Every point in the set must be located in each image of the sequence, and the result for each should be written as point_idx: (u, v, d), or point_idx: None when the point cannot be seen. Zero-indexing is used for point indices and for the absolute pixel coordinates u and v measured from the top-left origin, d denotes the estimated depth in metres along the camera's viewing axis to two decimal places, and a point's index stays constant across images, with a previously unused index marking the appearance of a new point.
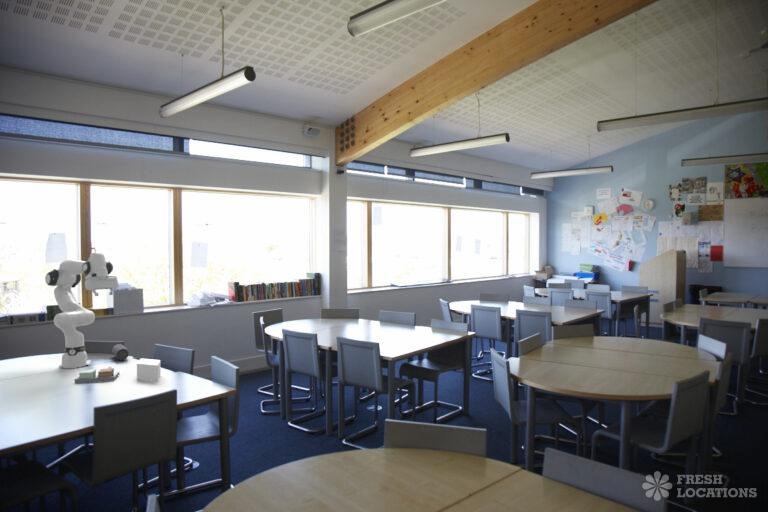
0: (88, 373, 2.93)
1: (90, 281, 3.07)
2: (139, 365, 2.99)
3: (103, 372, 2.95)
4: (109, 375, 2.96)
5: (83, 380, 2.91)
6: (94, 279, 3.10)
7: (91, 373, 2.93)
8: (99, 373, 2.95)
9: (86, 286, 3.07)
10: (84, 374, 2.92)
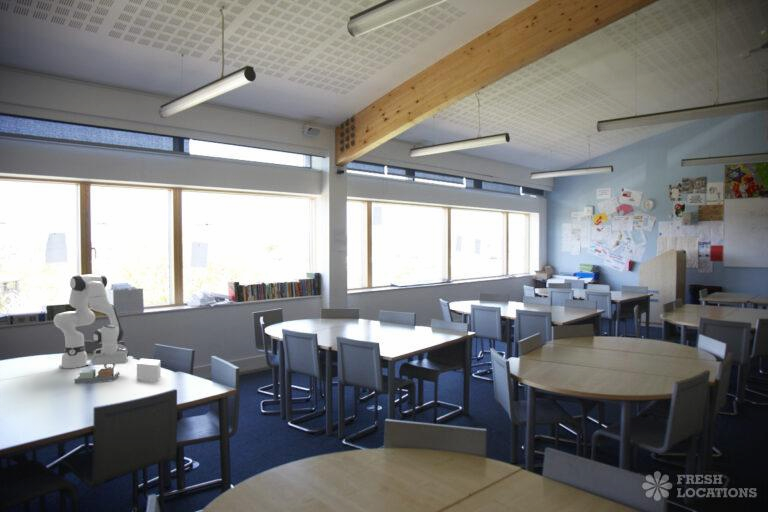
0: (88, 373, 2.93)
1: (94, 357, 3.04)
2: (139, 365, 2.99)
3: (103, 372, 2.95)
4: (109, 375, 2.96)
5: (83, 380, 2.91)
6: (99, 355, 3.05)
7: (91, 373, 2.93)
8: (99, 373, 2.94)
9: None
10: (84, 374, 2.92)
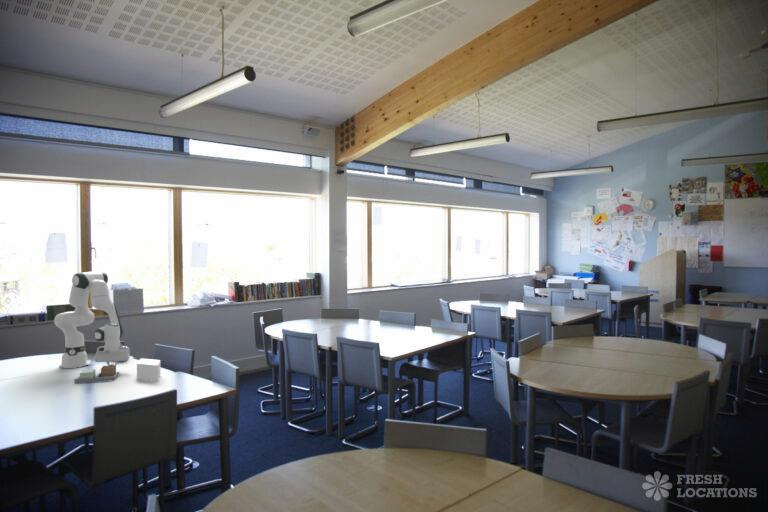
0: (89, 373, 2.93)
1: (97, 355, 3.12)
2: (139, 365, 2.99)
3: (105, 369, 3.03)
4: (111, 372, 3.04)
5: (83, 380, 2.91)
6: (102, 353, 3.13)
7: (92, 373, 2.94)
8: (102, 370, 3.02)
9: None
10: (85, 374, 2.92)
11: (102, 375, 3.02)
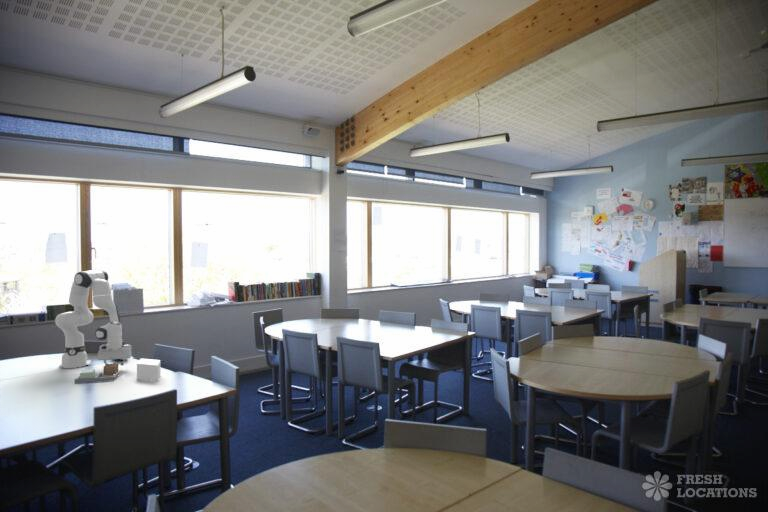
0: (89, 373, 2.93)
1: (100, 353, 3.18)
2: (139, 365, 2.99)
3: (108, 367, 3.09)
4: (114, 370, 3.10)
5: (83, 380, 2.91)
6: (104, 351, 3.19)
7: (92, 373, 2.94)
8: (104, 368, 3.08)
9: None
10: (85, 374, 2.92)
11: (105, 373, 3.08)
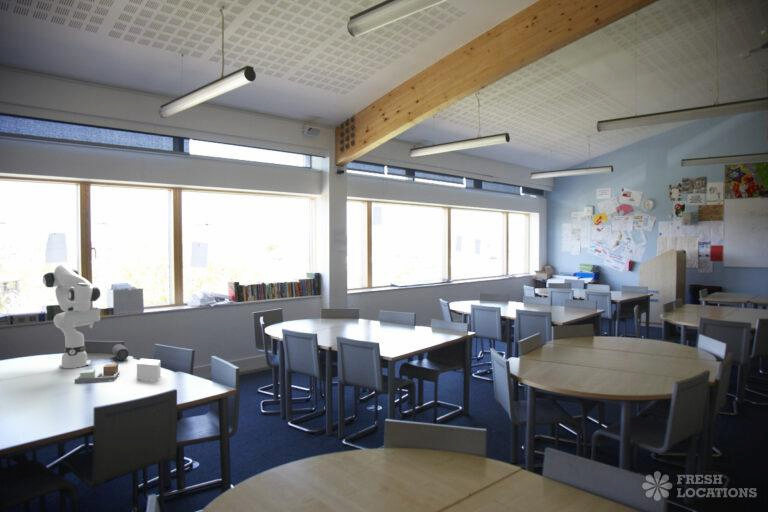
0: (89, 373, 2.93)
1: (66, 315, 3.04)
2: (139, 365, 2.99)
3: (108, 367, 3.08)
4: (114, 370, 3.09)
5: (83, 380, 2.91)
6: (71, 313, 3.05)
7: (92, 373, 2.94)
8: (104, 368, 3.08)
9: None
10: (85, 374, 2.92)
11: (104, 373, 3.08)
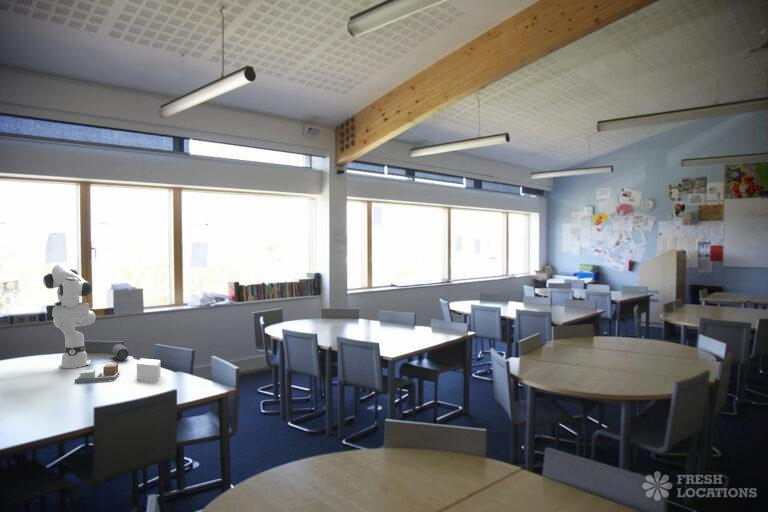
0: (89, 373, 2.93)
1: (55, 310, 3.00)
2: (139, 365, 2.99)
3: (108, 367, 3.08)
4: (114, 370, 3.09)
5: (83, 380, 2.91)
6: (59, 308, 3.01)
7: (92, 373, 2.94)
8: (104, 368, 3.08)
9: None
10: (85, 374, 2.92)
11: (104, 373, 3.08)
